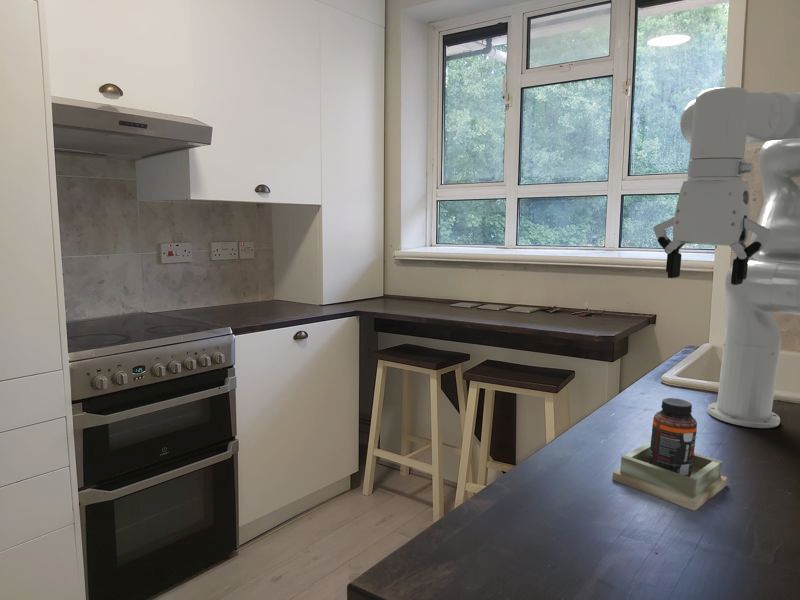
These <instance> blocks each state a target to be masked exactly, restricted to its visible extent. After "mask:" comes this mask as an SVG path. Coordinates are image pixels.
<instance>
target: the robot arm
mask: <svg viewBox="0 0 800 600" xmlns="http://www.w3.org/2000/svg"><path fill="white" fill-rule="evenodd" d="M683 109H684V110H683V111H682V113H681V116H680V123H679V124H680V131H681V134H682V136H683V138H684V139H685V141H687V142H688V143H690V146H689V147H690V149H689V158H688V159H689V161H688V168H687V169H688V170H687V179H686V180H684V181H682V184H681V188H680V189H679V194H678V197H677V202H676V207H675V212H674V217H671V218H669V219H666V220H665V221H662V222H661V223H658V224H656V225H654V226H653V232H654V235H655V237H656V239H657V243H658V244H659V245H660V247H662V248H663V250H664V253H665V254H667V255H666V263H665V264H666V265H665V271H666V273H667V278H668V279H675V278H679V277H680V276H681V266H682V265H681V264H682V253H681V252H680V251H681V249H682V248H683V247H684V246H685V245H686V244H692V245H693V244H694V245H704V246H705V245H708V246H725V247H726V246H729V247H730V248H731V250H732V251H733V252H734V254H735V256H736V258H734V259H733V261H732V266H731V267H730V268H729V269H728V270H727V273H726V277H725V281H724V282H725V288H724V289H725V298H726V300H725V301H726V302H725V303H726V319H725V321H726V322H725V330H724V339H723V348H722V358H721V366H720V375H719V383H718V392H717V398H716V399H717V400H716V402H712V403H709V404H708V406H707V413H708V414H709V415H710V416H712V417H713V418H715V419H717V420H719V421H722V422H724V423H728V424H731V425H736V426H739V427H740V426H742V427H745V428H753V429H755V428H756V429H771V428H776V427H778V426H779V425H780V423H781V418H780V416H779V414H776V413H775V412H773V411H772V410H773V405H774V404H773V403H774V398H775V389H776V382H777V375H778V368H779V367H778V366H779V359H780V352H781V351H780V350H781V344H782V334H781V329H780V327H779V325H778V323H777V321H776V320H775V319H774V317H773V316H772V314H771V313H779V314H790V315H797V316H800V184H799V183H797V182H796V181H795V179H794V178H800V91H798V92H781V91H779V92H778V91H748V90H747V89H746V88H743V87H738V86H722V87H713V88H708V89H706V90H702V91H700V92H699V93H698V94H697V95H696V97H695V99H693V100H692V101H690V102H689V103H688V104H687V105H686V107H684V108H683ZM746 143H748V144H749V143H764V144H763V145H762V146H761V149H760V151H759V155H758V169H759V170H758V171H759V172H758V174H759V179H760V184H761V188H762V189H761V190H762V194H763V204H762V207H761V210H760V212H759V215H758V218H757V221H754V220H752V219H750V188H749V182H748V180H742V179H743V177H744V176H745V174H747V173H753V170H754V163H752V162H750V163H749V162H746V159H745V151H746ZM671 228H672V238H673V239H672V240H671V239H670V237H668V236H667V230H668V229H669V230H670V229H671ZM749 231H751V232H752V234H751V237H750V240H749V245H747V244H746V242H747V241H748V238H749V233H750V232H749ZM751 258H753V259H751Z"/></svg>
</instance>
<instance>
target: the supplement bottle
mask: <svg viewBox="0 0 800 600" xmlns="http://www.w3.org/2000/svg"><path fill="white" fill-rule="evenodd" d="M692 406H693V405H692V403H691V402H690V401H688V400H685V399H681V398H676V397H665V398H663V399H662V401H661V410H660V411H657V412H656V413H654V415H653V420H652V428H651V436H650V437H651V438H650V441H651V446H650V456H649V464H652V465H655V466H658V467H661V468H664V469H667V470H669V471H672V472H675V473H678V474H681V475H684V476H687V477H691V472H692V466H693V458H694V453H695V447H696V438H697V428H698V422H697V420H696V418H694V416H693V415H692V412H693V411H692V409H693V407H692Z"/></svg>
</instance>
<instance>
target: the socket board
mask: <svg viewBox="0 0 800 600" xmlns="http://www.w3.org/2000/svg"><path fill="white" fill-rule="evenodd" d="M650 446H651V440H650V441H649V442H646V443H644V444H643V445H641V446H638V448H636V449H634V450H632V451H630V452H628V453H626V454H624V455H622V456H621V459H620V468H618V469H616V470H614V471H613V472H612V478H611V480H612V481H614V482H617V483H620V484H623V485H625V486H628V487H630V488H632V489H633V488H634V489H635V490H639V491H641V492H644V493H647V494H649V495H651V496H654V497H656V498H659V499H662V500H665V501H666V502H667V501H668V502H670V503H673V504H675V505H678V506H680V507H683V508H686V509H688V510H691V511H694V512H696V510H698V509H699V508H700V507H702V506H703V505H704V504H705V503H707V502H708V501H709V500H710V499H711V498H713V497H714V496H716V494H718V493H719V492H720V491H722V490H723V489H724V488H725V487H727V486H728V479H729V478H728V477H727V476H725V475H722V469H723V461H722V460H719V459H716V458H712V457H710V456H709V457H708V456H706V455H703V454H700V453H696V452H694V458H693V466H692V472H691V477H687V476H684V475H681V474H678V473H675V472H672V471H669V470H667V469H664V468H661V467H658V466H655V465H652V464H649V456H650Z"/></svg>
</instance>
